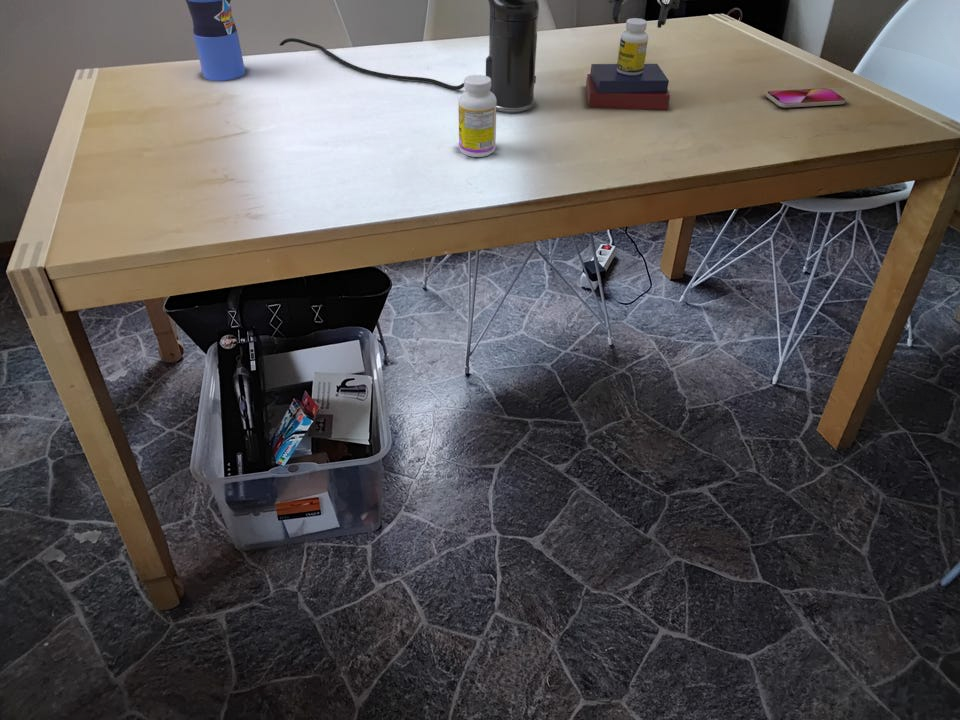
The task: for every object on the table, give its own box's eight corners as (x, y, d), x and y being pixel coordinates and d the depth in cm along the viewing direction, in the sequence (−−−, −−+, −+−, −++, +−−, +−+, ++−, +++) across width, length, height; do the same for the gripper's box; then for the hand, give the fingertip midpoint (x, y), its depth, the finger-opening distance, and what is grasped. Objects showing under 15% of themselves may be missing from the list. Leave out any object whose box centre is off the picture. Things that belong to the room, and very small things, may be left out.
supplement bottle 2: (610, 70, 149) (617, 19, 142) (629, 65, 151) (636, 15, 145) (629, 78, 146) (637, 26, 139) (648, 72, 148) (656, 21, 142)
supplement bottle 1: (465, 140, 135) (465, 70, 127) (499, 145, 134) (501, 74, 125) (453, 155, 130) (452, 83, 122) (488, 160, 129) (490, 88, 120)
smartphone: (848, 100, 150) (782, 104, 147) (846, 105, 151) (781, 109, 148) (828, 87, 155) (764, 91, 153) (826, 92, 156) (763, 95, 153)
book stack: (588, 107, 148) (591, 80, 144) (585, 87, 156) (588, 61, 153) (667, 110, 147) (672, 83, 144) (660, 89, 156) (664, 63, 152)
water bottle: (194, 78, 158) (162, -51, 142) (215, 64, 165) (188, -61, 149) (233, 82, 156) (205, -48, 140) (253, 68, 163) (229, -58, 147)
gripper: (618, -69, 143) (601, 9, 142) (692, -64, 140) (675, 16, 139) (619, -44, 150) (603, 30, 150) (689, -39, 147) (672, 37, 146)
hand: (637, 23), depth 144 cm, fingers open, 8 cm apart
